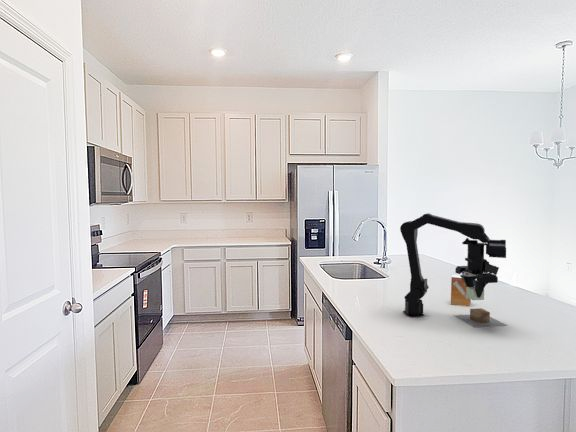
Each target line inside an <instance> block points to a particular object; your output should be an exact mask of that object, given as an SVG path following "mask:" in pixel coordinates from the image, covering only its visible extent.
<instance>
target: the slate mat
mask: <svg viewBox="0 0 576 432" xmlns="http://www.w3.org/2000/svg"><path fill="white" fill-rule="evenodd" d="M453 317H455V318H457V319H458V320H460V321H462V322H464V323H465V324H467V325H469V326H471V327H472V328H474V329H475V328H479V329H480V328H493V327H494V328H495V327H496V328H497V327H508V326H509V325H508V324H506V323H504V322H502V321H500V320H498V319H495V318H493V317H492V316H490V322H484V323H477V322H475V321H473V320H472V319H470V314H454V315H453Z"/></svg>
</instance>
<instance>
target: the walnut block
mask: <svg viewBox="0 0 576 432" xmlns="http://www.w3.org/2000/svg"><path fill="white" fill-rule="evenodd" d="M469 315H470V319H472V320H473V321H475V322H477V323H484V322H490V317H491V312H490V311H488V310H486V309H483V308H482V307H481V308H478V307H477V308H470V309H469Z"/></svg>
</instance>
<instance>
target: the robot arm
mask: <svg viewBox="0 0 576 432" xmlns="http://www.w3.org/2000/svg"><path fill="white" fill-rule="evenodd" d="M427 224H428V225H431V226H436V227H440V228H443V229H447V230H451V231H454V232H457V233H460V234H461V235H463V236H464V237H465V236H466V238H465V239H464V240H463V241H462V243H461V244H462V245H467V256H466V257H464V261H466V262H467V264H466V265H457V266H456V267H455V274H457V275H460V277H462V279H463V281H464V283H465V285H466V287H474V288H475V292H476V295H477V297H478V298H480V297H481V295H482V292H483V290H484V291H485V287H486V285H488V284H497V283H498V280H499V278H498V276H497V275H498V272H499V269H500V267H498V266H496V265H493V264H490V261H488V260H487V259H486V258H485V255H487V256H488V257H489V258H500V259H507V246H506V245H507V243H506V242H507V240H506V239H491V238H489V236H488V235H487V234H486V231H485V227H484V226H483V225H482V224H481V223H478V222H475V223H474V222H463V221H457V220H453V219H449V218H445V217H443V216H438V215H434V214H431V213H429V212H427V213H424V214H422V215H421V216H420V217H418V218H416V219H414V220H409V221H405V222H403V223H402V224H401V225H400V228H399V231H400V233H401V236H402V238H403V240H404V243H405V245H406V251H407V257H408V264H409V271H410V283H409V291H408V293H406V294H405V295H404V310H403V311H402V312H403V313H404V314H405V315H406V316H408V317H410V318H411V317H412V318H413V317H424V316H425V314H424V303H423V300H422V299H423V297H425V295H426V293H427V292H428V289H429V285H428V278H424V276H423V274H422V268H421V263H420V262H421V261H420V257H419V256H420V255H419V248H418V244H417V243H418V242H417V241H418V240H417V239H418V229H420V228H422V227H424V226H425V225H427ZM469 238H470V239H469Z"/></svg>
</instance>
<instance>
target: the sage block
mask: <svg viewBox="0 0 576 432" xmlns="http://www.w3.org/2000/svg"><path fill="white" fill-rule="evenodd" d="M466 297H467V298H469V299H471V301H483V300H485V289H484V290H483V292H482V295H481V297H480V298H478V297H477V295H476V292H475V288H474V287H466Z"/></svg>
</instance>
